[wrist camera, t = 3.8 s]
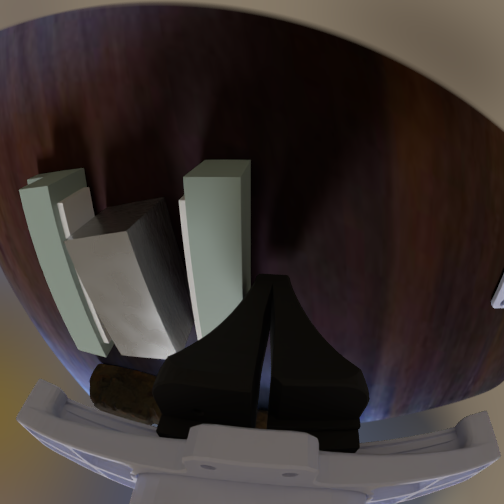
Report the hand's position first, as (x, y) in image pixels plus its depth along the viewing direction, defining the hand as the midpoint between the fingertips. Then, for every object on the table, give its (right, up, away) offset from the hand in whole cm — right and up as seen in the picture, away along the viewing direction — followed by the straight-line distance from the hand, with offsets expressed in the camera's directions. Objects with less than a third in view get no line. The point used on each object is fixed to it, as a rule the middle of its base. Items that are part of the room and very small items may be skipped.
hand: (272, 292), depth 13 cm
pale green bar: (-11, +2, +3) cm, 11 cm away
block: (-6, +1, +2) cm, 7 cm away
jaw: (-2, +1, +2) cm, 3 cm away
